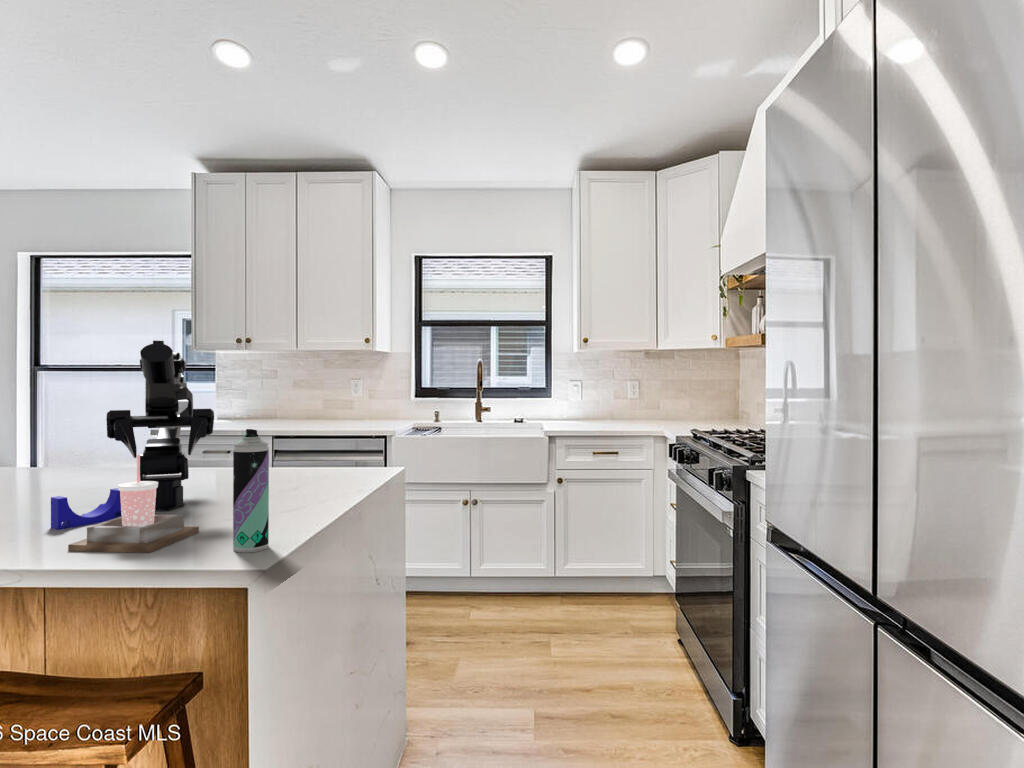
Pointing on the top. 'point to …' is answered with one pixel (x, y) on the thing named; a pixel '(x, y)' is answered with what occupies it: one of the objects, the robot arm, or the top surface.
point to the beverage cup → (138, 501)
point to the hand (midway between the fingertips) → (162, 455)
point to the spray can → (250, 493)
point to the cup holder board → (134, 535)
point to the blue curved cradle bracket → (71, 519)
